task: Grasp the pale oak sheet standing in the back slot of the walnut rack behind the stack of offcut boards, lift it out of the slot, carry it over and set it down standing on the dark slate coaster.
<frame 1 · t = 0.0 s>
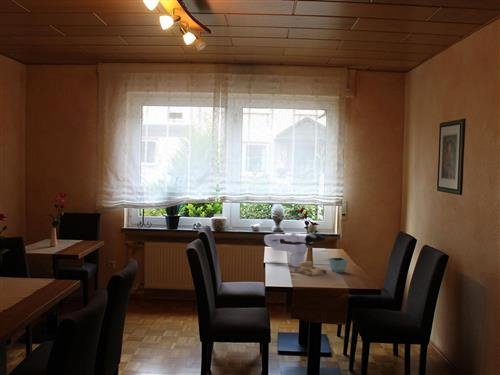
hand: (320, 239, 305), 22 cm above the table, tool horizontal, fingers open, 7 cm apart
slate coaster: (292, 274, 300), on the table
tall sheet: (306, 271, 306), point 1 cm above the table, touching rack
rack: (310, 274, 303), on the table
offcut board lower: (314, 273, 300), point 1 cm above the table, touching offcut board upper, rack
flower pot: (337, 273, 309), on the table
offcut board upper: (315, 271, 300), point 2 cm above the table, touching offcut board lower
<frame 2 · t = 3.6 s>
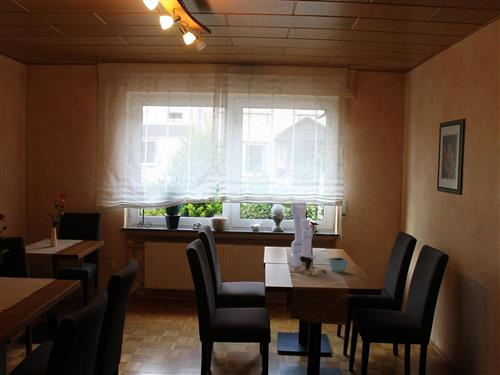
hand: (306, 268, 306), 3 cm above the table, tool pointing down, fingers closed on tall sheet, 2 cm apart
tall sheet: (306, 271, 306), point 1 cm above the table, touching gripper, rack
everything else where it was.
when the fingers open (3 cm above the table, at t = 7.4 s): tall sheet stays where it is, resting on slate coaster.
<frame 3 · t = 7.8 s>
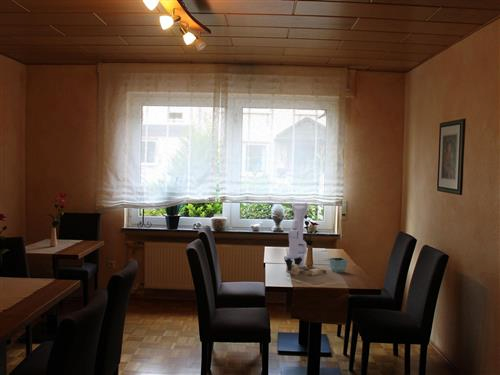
hand: (293, 270, 300), 3 cm above the table, tool pointing down, fingers open, 6 cm apart
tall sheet: (292, 273, 301), point 1 cm above the table, touching slate coaster
everything else where it was.
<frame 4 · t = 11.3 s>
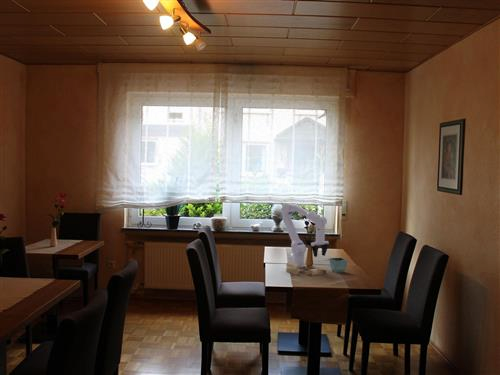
hand: (319, 256, 312), 10 cm above the table, tool pointing down, fingers open, 7 cm apart
nothing on the table moved.
at the end: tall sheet inside the target area (0.4 cm from its centre), point 0.6 cm above the table; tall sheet tilted 0°; the gripper is holding nothing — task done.
